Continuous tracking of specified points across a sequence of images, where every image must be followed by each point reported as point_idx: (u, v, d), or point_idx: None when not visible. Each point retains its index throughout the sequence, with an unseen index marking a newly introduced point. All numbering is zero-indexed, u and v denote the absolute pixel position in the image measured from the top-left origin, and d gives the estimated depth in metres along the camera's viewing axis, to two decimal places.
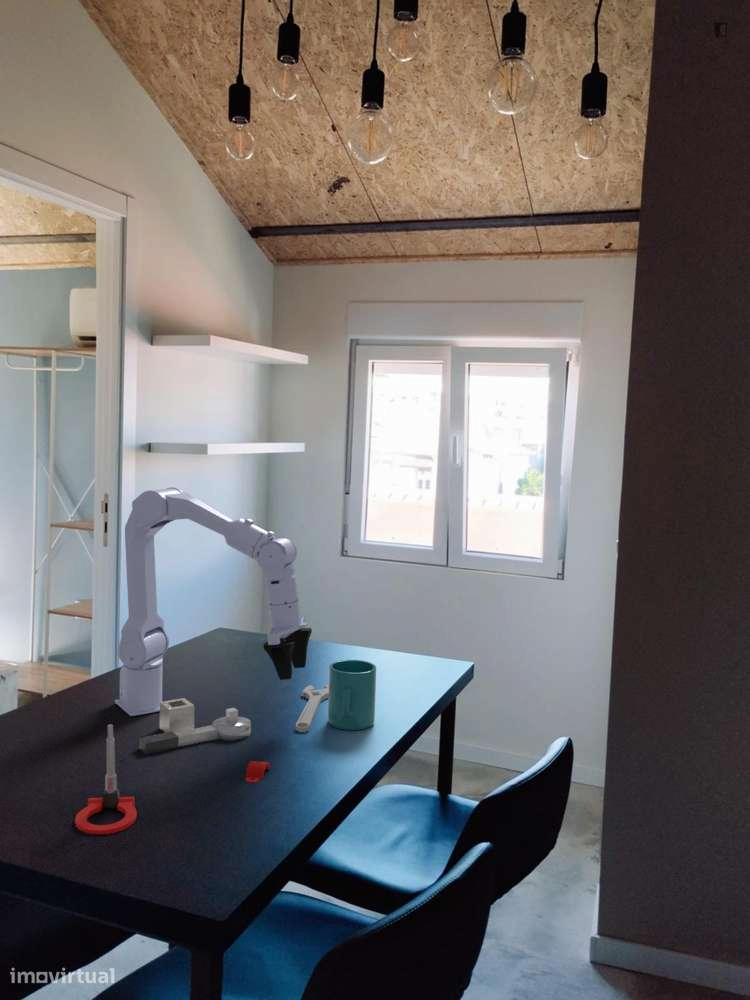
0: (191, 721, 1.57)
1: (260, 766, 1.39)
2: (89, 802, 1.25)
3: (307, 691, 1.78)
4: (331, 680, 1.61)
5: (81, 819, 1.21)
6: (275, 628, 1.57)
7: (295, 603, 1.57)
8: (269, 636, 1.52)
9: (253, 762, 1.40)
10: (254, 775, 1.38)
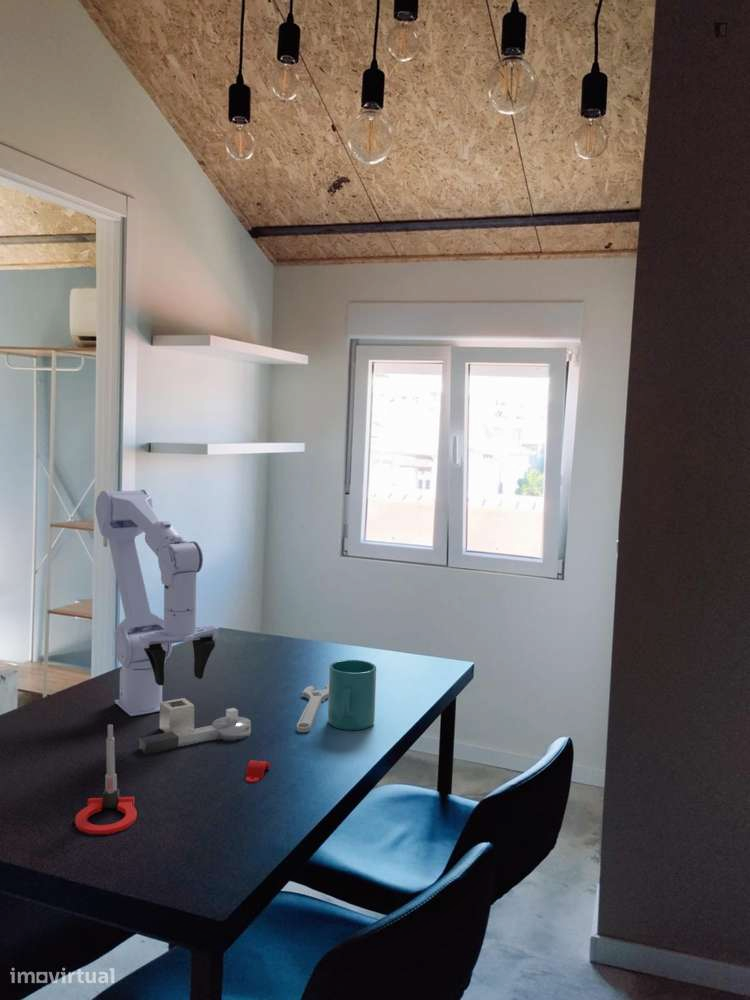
0: (191, 721, 1.57)
1: (260, 765, 1.39)
2: (89, 802, 1.25)
3: (307, 691, 1.78)
4: (331, 680, 1.61)
5: (81, 819, 1.21)
6: (163, 631, 1.55)
7: (181, 613, 1.53)
8: (140, 638, 1.52)
9: (253, 761, 1.40)
10: (254, 774, 1.38)
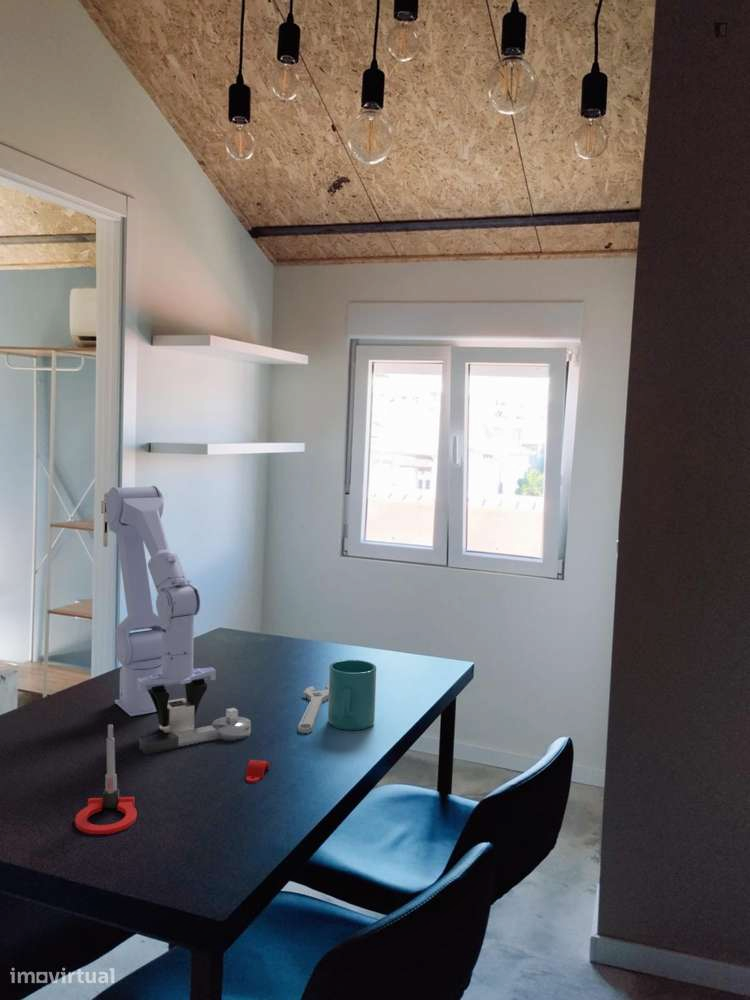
0: (191, 721, 1.57)
1: (260, 765, 1.39)
2: (89, 802, 1.25)
3: (308, 692, 1.78)
4: (331, 680, 1.61)
5: (82, 819, 1.20)
6: (161, 674, 1.56)
7: (178, 656, 1.53)
8: (137, 681, 1.53)
9: (253, 761, 1.40)
10: (254, 774, 1.38)
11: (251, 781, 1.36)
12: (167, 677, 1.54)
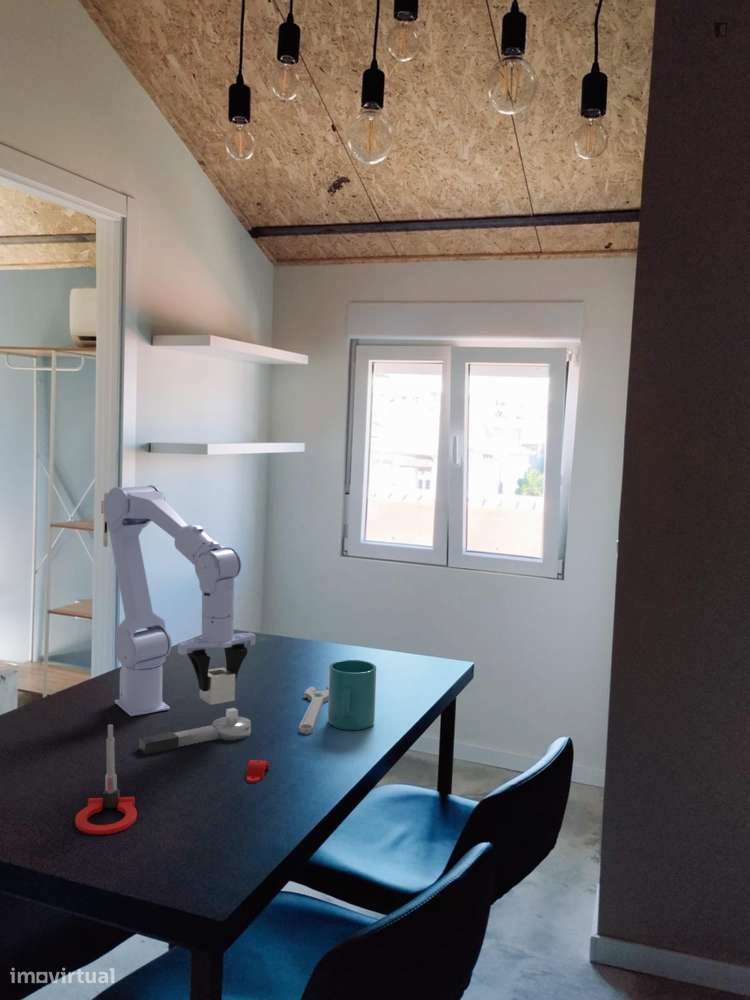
0: (232, 690, 1.55)
1: (260, 765, 1.39)
2: (89, 802, 1.25)
3: (309, 692, 1.78)
4: (331, 680, 1.61)
5: (82, 820, 1.20)
6: (201, 638, 1.55)
7: (219, 620, 1.52)
8: (178, 644, 1.52)
9: (253, 761, 1.40)
10: (255, 774, 1.38)
11: (251, 781, 1.36)
12: (208, 641, 1.53)
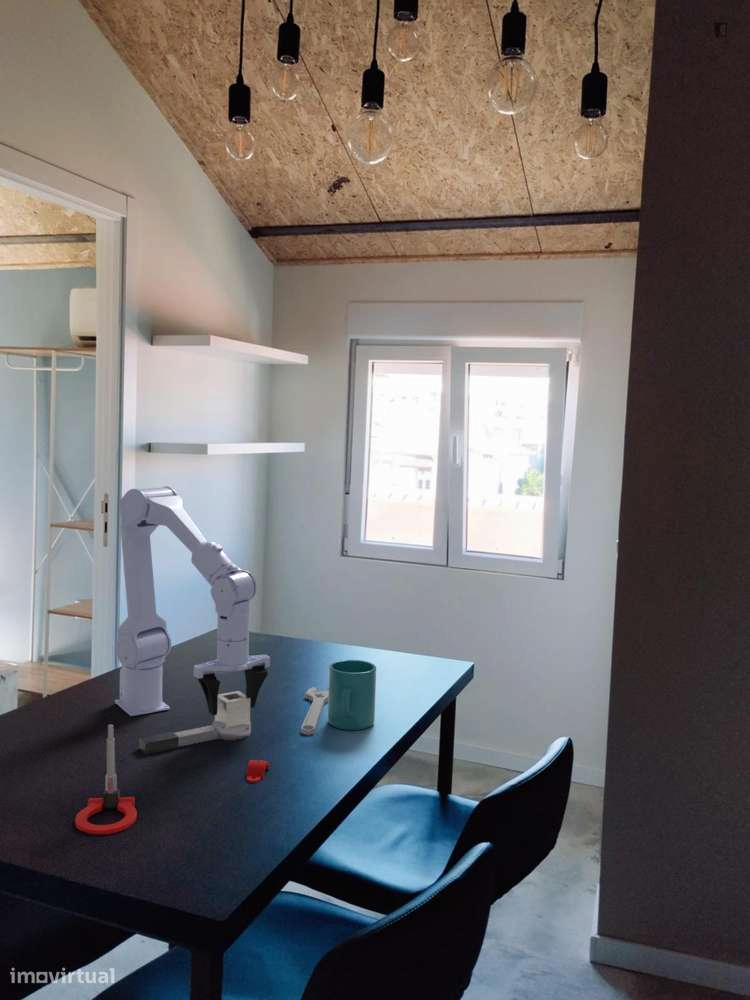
0: (247, 714, 1.56)
1: (261, 765, 1.39)
2: (89, 802, 1.25)
3: (310, 693, 1.77)
4: (331, 680, 1.61)
5: (82, 820, 1.20)
6: (216, 661, 1.55)
7: (235, 643, 1.53)
8: (194, 668, 1.52)
9: (253, 761, 1.40)
10: (255, 774, 1.38)
11: (252, 781, 1.36)
12: (223, 664, 1.53)
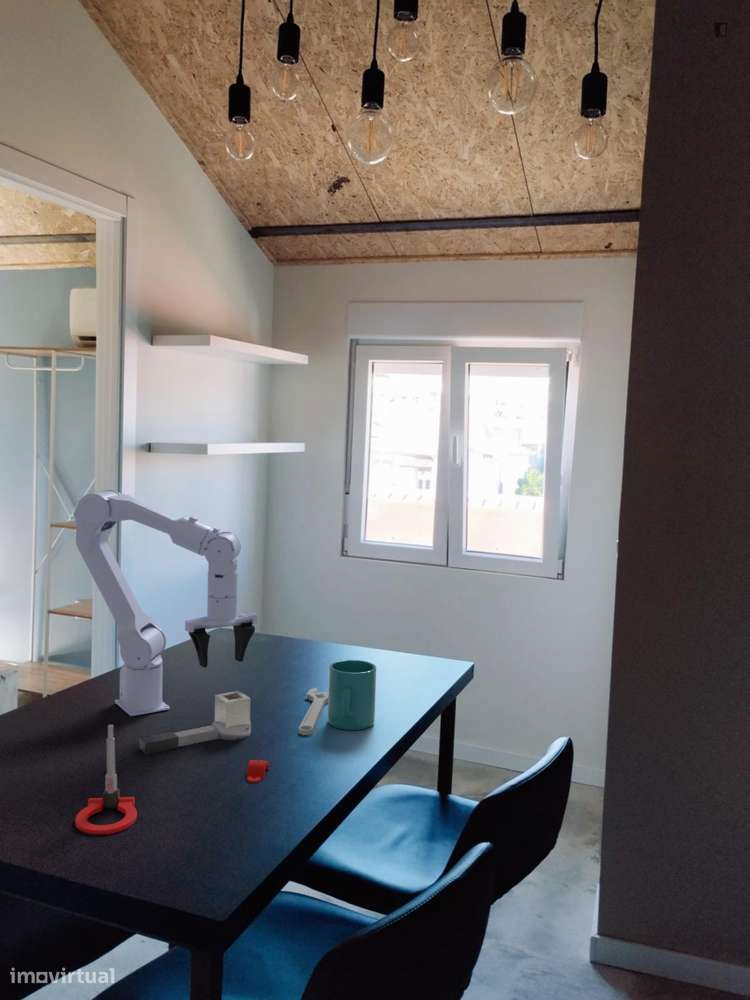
0: (247, 714, 1.56)
1: (261, 765, 1.39)
2: (89, 802, 1.25)
3: (311, 693, 1.77)
4: (331, 680, 1.61)
5: (82, 820, 1.20)
6: (207, 617, 1.65)
7: (224, 599, 1.63)
8: (185, 622, 1.62)
9: (253, 761, 1.40)
10: (255, 774, 1.38)
11: (253, 781, 1.36)
12: (213, 619, 1.63)
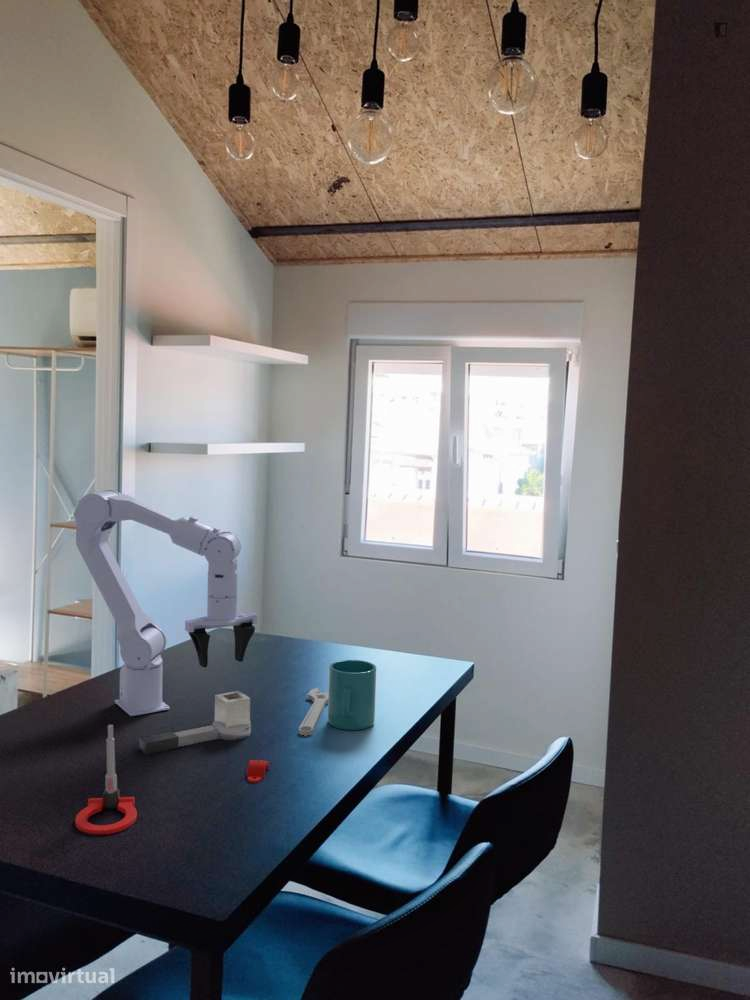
0: (247, 714, 1.56)
1: (261, 765, 1.39)
2: (89, 802, 1.25)
3: (312, 694, 1.77)
4: (331, 680, 1.61)
5: (82, 820, 1.20)
6: (207, 617, 1.65)
7: (224, 599, 1.63)
8: (185, 622, 1.62)
9: (253, 761, 1.40)
10: (255, 774, 1.38)
11: (253, 781, 1.36)
12: (213, 619, 1.63)
